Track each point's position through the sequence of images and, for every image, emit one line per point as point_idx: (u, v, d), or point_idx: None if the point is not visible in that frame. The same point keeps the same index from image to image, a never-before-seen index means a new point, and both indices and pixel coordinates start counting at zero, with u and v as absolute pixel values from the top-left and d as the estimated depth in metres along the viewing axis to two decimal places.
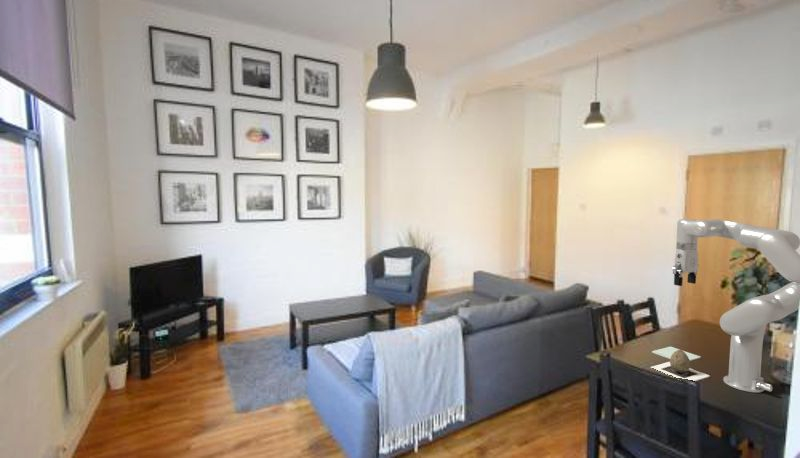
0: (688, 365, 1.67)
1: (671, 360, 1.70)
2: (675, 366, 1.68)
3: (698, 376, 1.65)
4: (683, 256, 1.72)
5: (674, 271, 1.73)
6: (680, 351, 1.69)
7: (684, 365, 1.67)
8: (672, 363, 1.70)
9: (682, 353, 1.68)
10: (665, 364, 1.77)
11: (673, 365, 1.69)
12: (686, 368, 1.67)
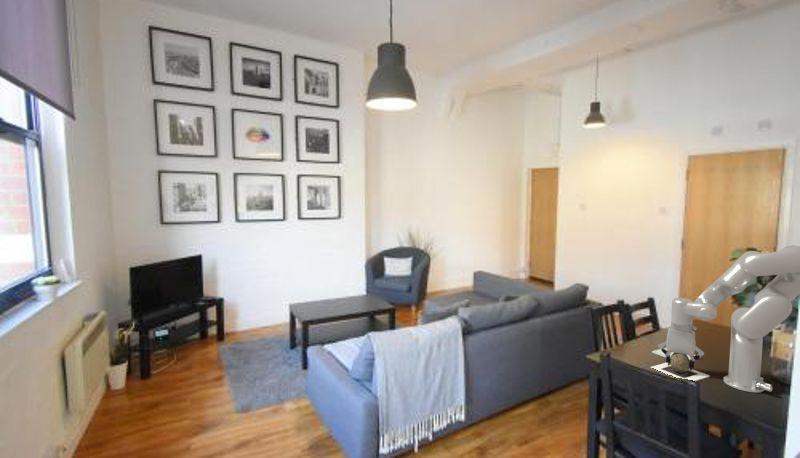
0: (688, 365, 1.67)
1: (671, 360, 1.70)
2: (675, 366, 1.68)
3: (698, 376, 1.65)
4: None
5: None
6: None
7: (684, 365, 1.67)
8: (672, 363, 1.70)
9: None
10: (665, 364, 1.77)
11: (673, 365, 1.69)
12: (686, 368, 1.67)
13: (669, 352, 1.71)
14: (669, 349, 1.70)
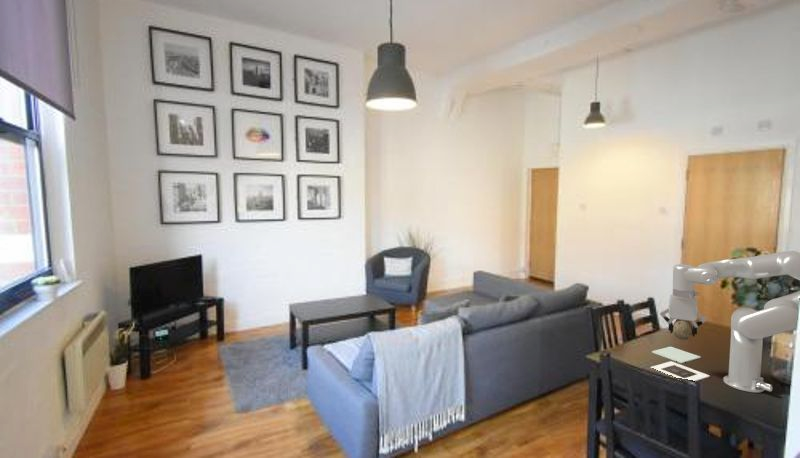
0: (691, 331, 1.65)
1: (673, 327, 1.69)
2: (678, 333, 1.67)
3: (698, 376, 1.65)
4: None
5: None
6: None
7: (686, 331, 1.65)
8: (675, 330, 1.68)
9: (684, 320, 1.67)
10: (665, 364, 1.77)
11: (676, 332, 1.68)
12: (689, 335, 1.65)
13: (671, 319, 1.69)
14: (671, 316, 1.69)
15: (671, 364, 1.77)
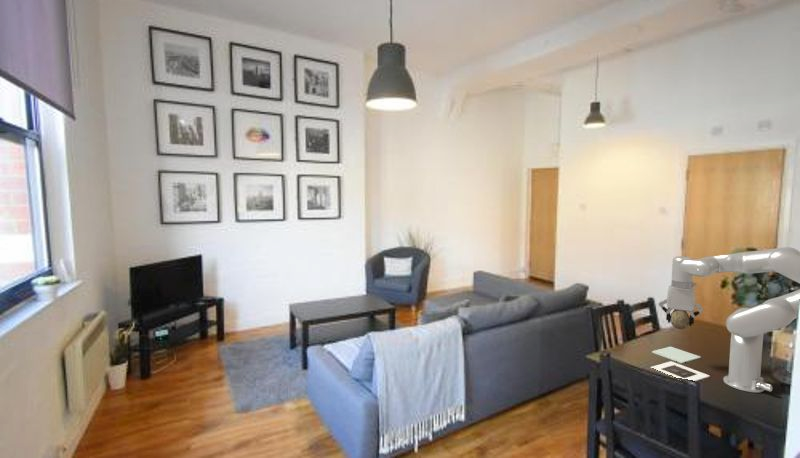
0: (688, 321, 1.71)
1: (671, 317, 1.74)
2: (676, 323, 1.72)
3: (698, 376, 1.65)
4: None
5: None
6: None
7: (684, 321, 1.71)
8: (672, 320, 1.74)
9: None
10: (665, 364, 1.77)
11: (673, 322, 1.73)
12: (686, 324, 1.71)
13: (669, 310, 1.75)
14: (670, 306, 1.74)
15: (671, 364, 1.77)
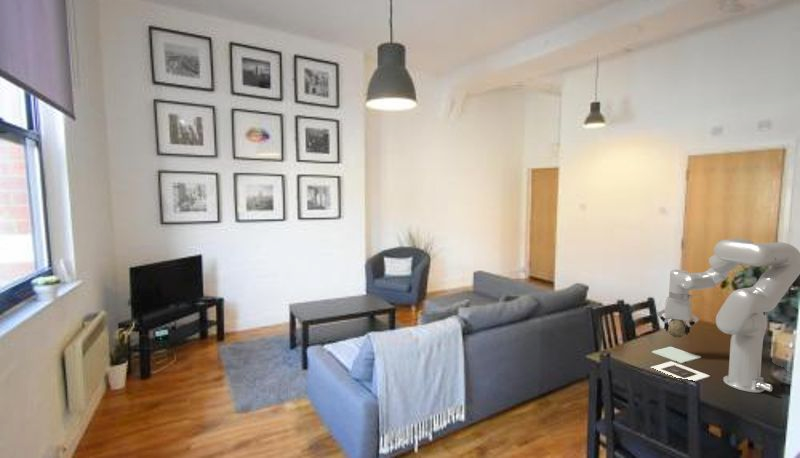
0: (684, 330, 1.84)
1: (669, 326, 1.87)
2: (673, 332, 1.85)
3: (698, 376, 1.65)
4: None
5: None
6: None
7: (680, 330, 1.83)
8: (670, 329, 1.87)
9: (678, 320, 1.85)
10: (665, 364, 1.77)
11: (670, 330, 1.86)
12: (682, 333, 1.84)
13: (667, 319, 1.88)
14: (667, 316, 1.87)
15: (671, 364, 1.77)
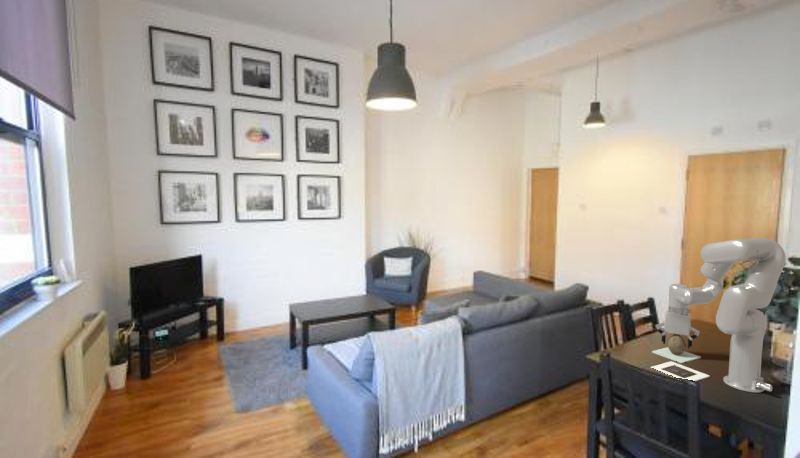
0: (684, 347, 1.84)
1: (669, 343, 1.88)
2: (673, 349, 1.86)
3: (698, 376, 1.65)
4: None
5: (697, 335, 1.82)
6: (677, 335, 1.86)
7: (680, 347, 1.84)
8: (669, 346, 1.87)
9: (678, 337, 1.85)
10: (665, 364, 1.77)
11: (670, 348, 1.87)
12: (682, 350, 1.84)
13: (665, 332, 1.89)
14: (667, 330, 1.88)
15: (671, 364, 1.77)
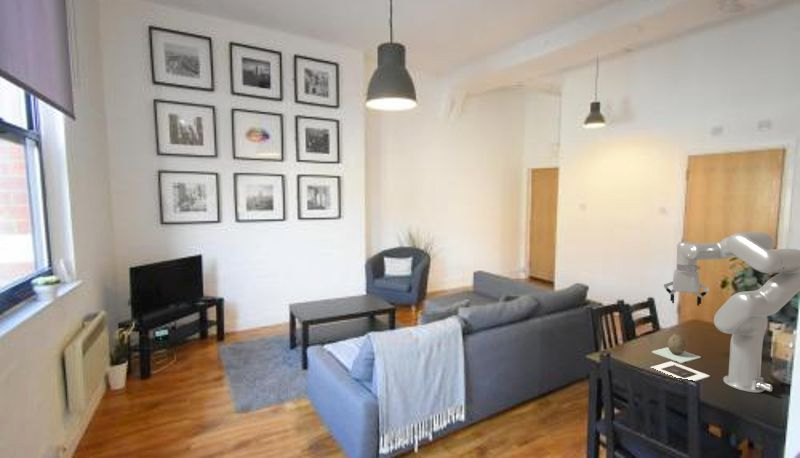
0: (684, 347, 1.84)
1: (668, 343, 1.88)
2: (672, 349, 1.86)
3: (698, 376, 1.65)
4: None
5: None
6: (677, 335, 1.86)
7: (680, 347, 1.84)
8: (669, 346, 1.87)
9: (678, 337, 1.85)
10: (665, 364, 1.77)
11: (670, 348, 1.87)
12: (682, 350, 1.84)
13: (674, 291, 1.87)
14: (675, 289, 1.86)
15: (671, 364, 1.77)
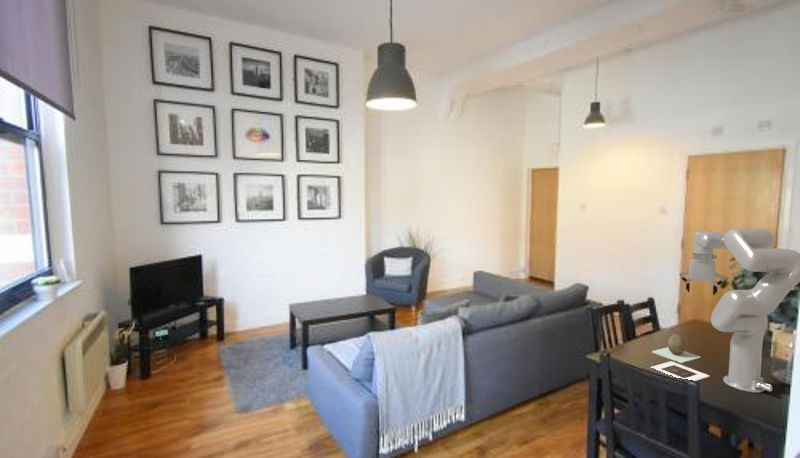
0: (684, 347, 1.84)
1: (668, 343, 1.88)
2: (672, 349, 1.86)
3: (698, 376, 1.65)
4: None
5: (723, 280, 1.80)
6: (677, 335, 1.86)
7: (680, 347, 1.84)
8: (669, 346, 1.87)
9: (678, 337, 1.85)
10: (665, 364, 1.77)
11: (670, 348, 1.87)
12: (682, 350, 1.84)
13: (689, 280, 1.87)
14: (691, 278, 1.86)
15: (671, 364, 1.77)
